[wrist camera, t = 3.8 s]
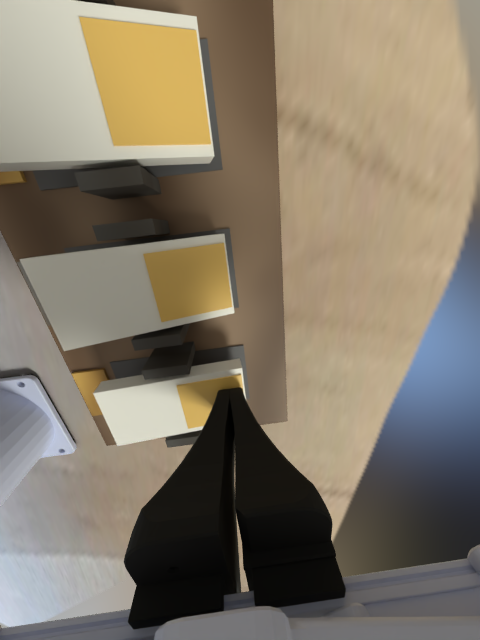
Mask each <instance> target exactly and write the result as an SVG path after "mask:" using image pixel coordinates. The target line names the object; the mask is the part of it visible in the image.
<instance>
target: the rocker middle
mask: <svg viewBox="0 0 480 640" xmlns="http://www.w3.org/2000/svg"><path fill="white" fill-rule="evenodd" d="M19 260H20V262H21V264H22V266H23V268H24V270H25V272H26V274H27V276H28V278H29V280H30V282H31V284H32V286H33V289H34V291H35V293H36V295H37V297H38V299H39V301H40V303H41V305H42V307H43V309H44V311H45V313H46V315H47V317H48V319H49V321H50V324H51V326H52V328H53V330H54V332H55V334H56V336H57V338H58V340H59V342H60V344H61V346H62V348H63V350H64V351H67V350H72V349H76V348H81V347H85V346H90V345H94V344H99V343H103V342H108V341H112V340H117V339H121V338H125V337H130V336H134V335H139V334H143V333H148V332H152V331H157V330H161V329H166V328H170V327H175V326H179V325H184V324H188V323H193V322H197V321H201V320H206V319H210V318H215V317H219V316H224V315H228V314H233V313H234V305H233V297H232V289H231V282H230V274H229V266H228V258H227V250H226V243H225V235H224V234H214V235H206V236H198V237H190V238H182V239H174V240H166V241H158V242H150V243H142V244H134V245H126V246H118V247H110V248H102V249H94V250H86V251H78V252H70V253H62V254H54V255H46V256H38V257H30V258H24V259H19Z"/></svg>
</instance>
